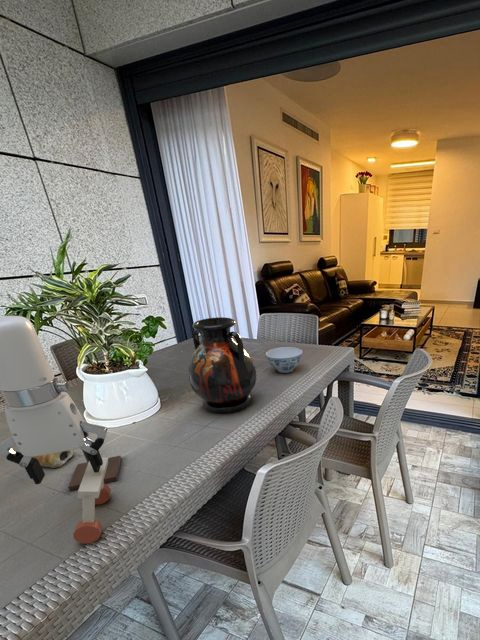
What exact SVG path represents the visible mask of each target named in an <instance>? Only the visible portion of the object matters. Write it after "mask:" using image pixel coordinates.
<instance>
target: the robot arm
mask: <svg viewBox="0 0 480 640" xmlns="http://www.w3.org/2000/svg"><path fill="white" fill-rule="evenodd" d="M65 390H69V384H68V382H67V381H59V380H58V378H57V377H55V374H54V372H53V369H52V367H51V364H50V362H49V359H48V357H47V355H46V353H45V349H44V348H43V346H42V343H41V340H40V337H39V336H38V334H37V331H36V328H35V327H34V324H33V323H32V322H31V320H30V319H28V318H27V317H24V316H20V315H0V393H1V396H2V397H3V399H4V401H5V405H4V406H3V407H4V414H5V418H6V422H7V425H8V430H9V432H10V434H11V435H10V436H9V437H7V438H5V439H4V440H3V441H1V442H0V456H2V457H4V458H6V460H7V461H9V462H12V463H14V464H17V465H18V466H19V467H20V468H24V469H25V471H26V473H27V475H28V477H29V479H30V480H32V481H33V483H34V484H35V485H40V484H42V482H43V480H44V477H45V476H46V475H45V474H46V473H45V470H44V469H43V466H41V465H40V463H39V461H38V459H36V458H33V457H34V456H41V455H47V454H53V453H58V452H64V451H69V450H72V451H75V450H81V451H82V450H84V451H86V452H88V453H89V455H88V459H89V461H90V464H91V466H92V468H93V471H94V472H95V473H97V472H99V470H100V466H101V465H103V460H102V458H101V457H102V455H101V453H100V450H101V449H100V448H101V447H102V446H104V445H103V444H104V443H105V441H106V437H107V434H108V427H107V426H103V425H98V424H94V423H88V422H85V419H84V418H83V416H82V414H81V412H80V410H79V408H78V407H77V405H76V404H75V402H74V401H73V399H72V397H71V396H70V395H69V394H68V392H65ZM90 434H95V435H97V438H95V440H94V439H92V438H90V437H89V435H90ZM14 445H15V446H16V448H17V450H18V451H17V450H13V448H11V447H13V446H14Z"/></svg>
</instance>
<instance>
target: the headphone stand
mask: <svg viewBox="0 0 480 640" xmlns="http://www.w3.org/2000/svg"><path fill="white" fill-rule="evenodd" d="M81 451H82V453H83V456H84V458H85V460H86V462H81V463H78V464H77V465H76V468H75V469H74V473H73V475H72V478H71V480H70V482H69V484H68V489H69V492H71V491H76V490H79V487H80V484H81V482H82V479H83V476H84V474H85V471H86V468H87V465H88V463H89V459H88V455H89V453H88V452H86V451H84V450H82V449H81ZM107 458H108V466H107V469H106V473H105V476H104V484H107V483H112V482H117V481H118V478H119V474H120V470H121V464H122V460H123V458H122V456H121V455H116V456H111V457H107Z"/></svg>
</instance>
